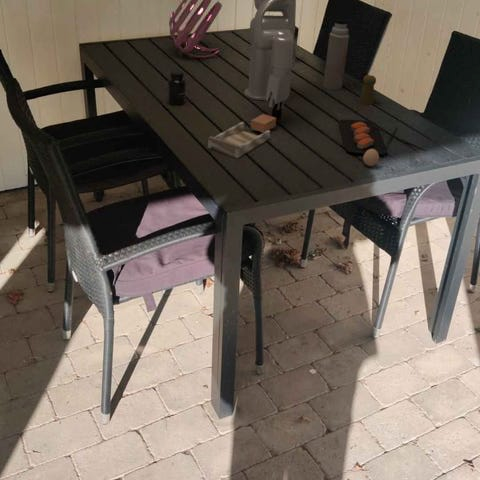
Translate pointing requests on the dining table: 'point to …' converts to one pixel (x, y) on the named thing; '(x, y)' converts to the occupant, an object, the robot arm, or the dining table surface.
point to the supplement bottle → (176, 88)
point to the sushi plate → (364, 137)
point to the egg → (371, 157)
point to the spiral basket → (189, 26)
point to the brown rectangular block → (263, 123)
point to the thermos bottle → (336, 55)
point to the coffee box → (295, 43)
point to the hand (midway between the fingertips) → (276, 118)
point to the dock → (236, 141)
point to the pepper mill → (367, 90)
